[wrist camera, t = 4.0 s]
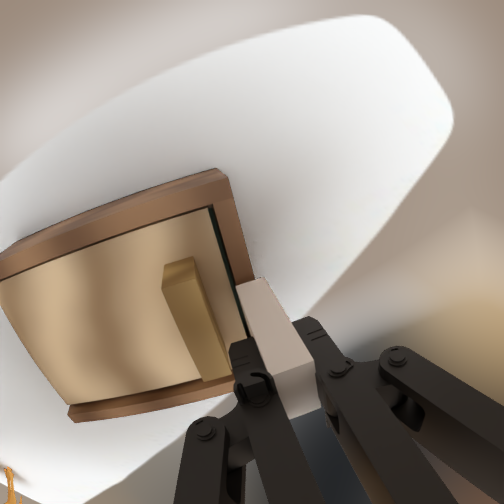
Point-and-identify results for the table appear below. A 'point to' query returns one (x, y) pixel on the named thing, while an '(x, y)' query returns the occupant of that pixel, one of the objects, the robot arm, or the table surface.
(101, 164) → the table surface
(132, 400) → the walnut box
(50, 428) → the table surface
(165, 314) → the cover plate
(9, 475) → the giraffe
